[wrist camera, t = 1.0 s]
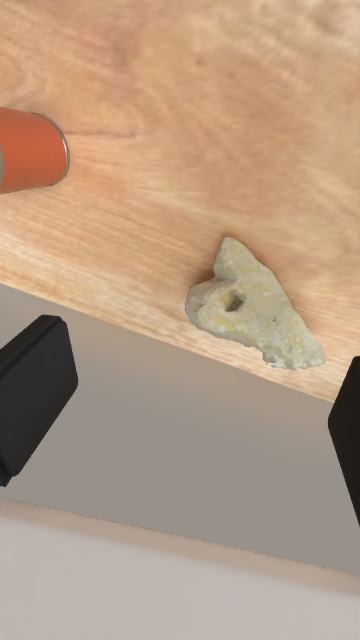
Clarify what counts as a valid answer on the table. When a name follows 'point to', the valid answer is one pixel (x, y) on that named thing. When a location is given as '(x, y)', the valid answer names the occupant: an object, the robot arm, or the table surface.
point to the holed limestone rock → (252, 310)
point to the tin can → (30, 151)
